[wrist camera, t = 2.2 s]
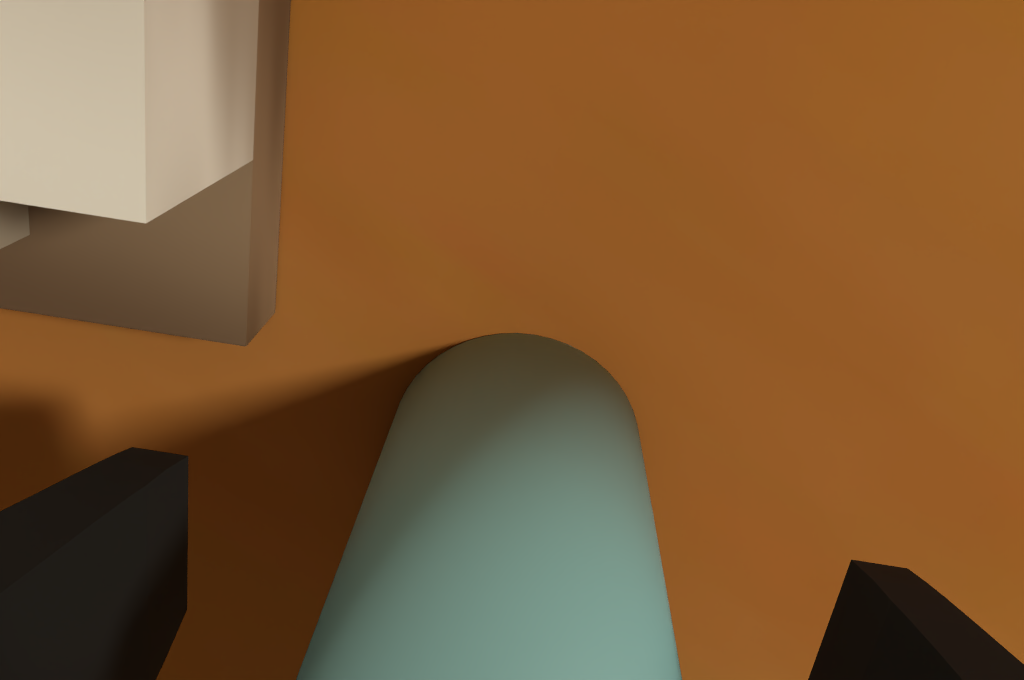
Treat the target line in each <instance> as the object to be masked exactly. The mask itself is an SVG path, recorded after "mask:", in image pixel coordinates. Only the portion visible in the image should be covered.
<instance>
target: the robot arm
mask: <svg viewBox="0 0 1024 680" xmlns="http://www.w3.org/2000/svg"><path fill="white" fill-rule="evenodd" d="M187 551H188V456H185V455H178V454H172V453H166V452H159V451H153V450H147V449H140V448H134V447H132V448H129V449H127V450H125V451H122V452H120V453H117V454H115V455H113V456H111V457H109V458H106V459H104V460H102V461H100V462H98V463H96V464H94V465H92V466H90V467H88V468H86V469H84V470H82V471H80V472H78V473H76V474H74V475H72V476H70V477H68V478H66V479H64V480H62V481H60V482H58V483H56V484H54V485H52V486H50V487H48V488H46V489H44V490H42V491H40V492H38V493H36V494H34V495H32V496H31V497H28V498H26V499H24V500H22V501H20V502H18V503H16V504H14V505H12V506H10V507H8V508H6V509H4V510H2V511H0V680H156V678H157V676H158V674H159V671H160V669H161V667H162V665H163V663H164V661H165V658H166V656H167V654H168V652H169V649H170V647H171V645H172V643H173V640H174V638H175V636H176V633H177V631H178V629H179V626H180V624H181V622H182V619H183V617H184V615H185V613H186V610H187ZM808 680H1024V664H1022V663H1021V662H1020V661H1019V660H1018V659H1017V658H1015V657H1014V656H1013V655H1012V654H1011V653H1010V652H1008V651H1007V650H1006V649H1005V648H1004V647H1003V646H1002V645H1000V644H999V643H998V642H997V641H996V640H995V639H993V638H992V637H991V636H990V635H989V634H988V633H986V632H985V631H984V630H983V629H982V628H981V627H979V626H978V625H977V624H976V623H975V622H974V621H972V620H971V619H970V618H969V617H968V616H967V615H965V614H964V613H963V612H962V611H961V610H959V609H958V608H957V607H956V606H955V605H954V604H952V603H951V602H950V601H949V600H948V599H946V598H945V597H944V596H943V595H941V594H940V593H939V592H938V591H937V590H935V589H934V588H933V587H932V586H930V585H929V584H928V583H926V582H925V581H924V580H922V579H921V578H920V577H918V576H917V575H916V574H914V573H913V572H912V571H910V570H909V569H907V568H901V567H894V566H888V565H882V564H875V563H869V562H862V561H856V560H851V562H850V565H849V568H848V570H847V573H846V576H845V579H844V582H843V584H842V587H841V590H840V593H839V596H838V598H837V601H836V604H835V607H834V609H833V612H832V615H831V618H830V621H829V623H828V626H827V629H826V632H825V635H824V637H823V640H822V643H821V646H820V648H819V651H818V654H817V657H816V660H815V662H814V665H813V668H812V671H811V674H810V676H809V679H808Z"/></svg>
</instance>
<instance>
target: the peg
mask: <svg viewBox="0 0 1024 680" xmlns="http://www.w3.org/2000/svg"><path fill="white" fill-rule="evenodd" d="M296 680H682V677H681V671H680V666H679V660H678V654H677V648H676V643H675V637H674V631H673V626H672V620H671V614H670V609H669V603H668V597H667V591H666V586H665V580H664V574H663V569H662V563H661V557H660V551H659V546H658V540H657V534H656V529H655V523H654V517H653V511H652V506H651V500H650V494H649V489H648V483H647V477H646V472H645V466H644V460H643V454H642V449H641V443H640V437H639V432H638V426H637V422H636V418H635V415H634V412H633V409H632V407H631V405H630V402H629V400H628V398H627V396H626V395H625V393H624V391H623V390H622V388H621V387H620V385H619V384H618V383H617V381H616V380H615V379H614V378H613V377H612V376H611V374H610V373H609V372H608V371H607V370H606V369H605V368H603V367H602V366H601V365H600V364H599V363H598V362H597V361H595V360H594V359H592V358H591V357H589V356H588V355H586V354H585V353H583V352H582V351H580V350H578V349H576V348H574V347H572V346H570V345H568V344H565V343H563V342H560V341H557V340H554V339H551V338H547V337H542V336H538V335H531V334H520V333H508V334H495V335H489V336H483V337H479V338H476V339H472V340H469V341H466V342H464V343H461V344H459V345H457V346H454V347H452V348H450V349H449V350H447V351H445V352H444V353H442V354H440V355H439V356H437V357H436V358H435V359H434V360H432V361H431V362H430V363H428V364H427V365H426V366H425V367H424V368H423V369H422V370H421V371H420V372H419V373H418V374H417V375H416V377H415V378H414V379H413V381H412V382H411V384H410V385H409V386H408V388H407V390H406V391H405V393H404V395H403V397H402V399H401V401H400V404H399V406H398V409H397V412H396V414H395V417H394V420H393V422H392V425H391V428H390V430H389V433H388V436H387V438H386V441H385V444H384V446H383V449H382V452H381V454H380V457H379V460H378V462H377V465H376V468H375V470H374V473H373V476H372V478H371V481H370V484H369V486H368V489H367V492H366V494H365V497H364V500H363V502H362V505H361V508H360V510H359V513H358V516H357V519H356V521H355V524H354V527H353V529H352V532H351V535H350V537H349V540H348V543H347V545H346V548H345V551H344V553H343V556H342V559H341V561H340V564H339V567H338V569H337V572H336V575H335V577H334V580H333V583H332V585H331V588H330V591H329V593H328V596H327V599H326V601H325V604H324V607H323V609H322V612H321V615H320V617H319V620H318V623H317V625H316V628H315V631H314V633H313V636H312V639H311V641H310V644H309V647H308V649H307V652H306V655H305V657H304V660H303V663H302V665H301V668H300V671H299V673H298V676H297V679H296Z"/></svg>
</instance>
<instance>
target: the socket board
mask: <svg viewBox="0 0 1024 680" xmlns="http://www.w3.org/2000/svg"><path fill="white" fill-rule="evenodd" d="M290 3H291V0H0V308H3V309H10V310H16V311H23V312H29V313H35V314H42V315H48V316H55V317H61V318H67V319H74V320H80V321H87V322H93V323H99V324H106V325H112V326H119V327H125V328H131V329H138V330H144V331H151V332H157V333H163V334H170V335H176V336H183V337H189V338H195V339H202V340H208V341H215V342H221V343H227V344H234V345H240V346H247V345H248V343H249V342H250V341H251V340H252V339H253V338H254V336H255V335H256V334H257V333H258V332H259V331H260V329H261V328H262V327H263V326H264V325H265V323H266V322H267V321H268V320H269V319H270V318H271V316H272V315H273V314H274V313H275V302H276V282H277V262H278V242H279V222H280V202H281V183H282V163H283V143H284V123H285V103H286V83H287V63H288V43H289V23H290Z"/></svg>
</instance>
